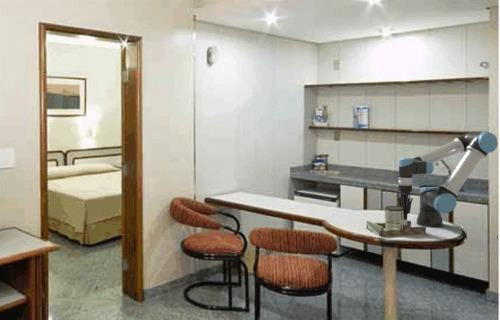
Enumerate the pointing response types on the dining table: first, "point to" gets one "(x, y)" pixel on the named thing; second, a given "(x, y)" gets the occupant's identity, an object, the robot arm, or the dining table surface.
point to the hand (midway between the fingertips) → (404, 224)
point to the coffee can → (393, 217)
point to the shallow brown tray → (394, 229)
